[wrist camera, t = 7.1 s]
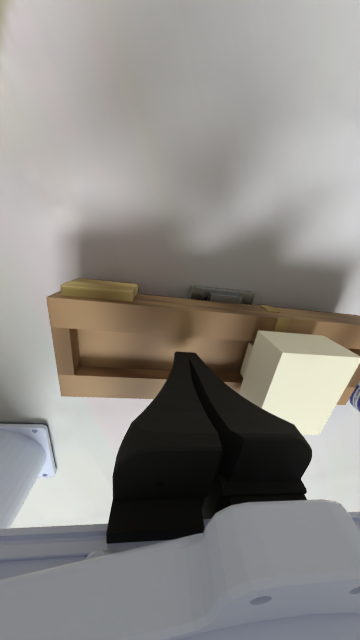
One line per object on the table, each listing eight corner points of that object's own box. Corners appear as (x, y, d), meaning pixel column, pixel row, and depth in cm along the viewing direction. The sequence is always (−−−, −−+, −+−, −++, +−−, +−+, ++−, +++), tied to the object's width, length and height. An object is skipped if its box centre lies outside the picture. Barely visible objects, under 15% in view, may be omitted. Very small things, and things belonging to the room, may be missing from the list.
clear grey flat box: (178, 372, 18) (180, 383, 16) (191, 285, 14) (194, 289, 13) (229, 375, 18) (234, 386, 17) (251, 291, 15) (260, 296, 14)
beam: (80, 374, 16) (61, 404, 13) (71, 277, 13) (43, 286, 10) (315, 385, 18) (343, 411, 15) (353, 306, 15) (397, 320, 12)
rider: (230, 387, 14) (252, 433, 11) (248, 322, 12) (282, 352, 9) (282, 390, 15) (319, 434, 11) (308, 327, 13) (362, 357, 9)
